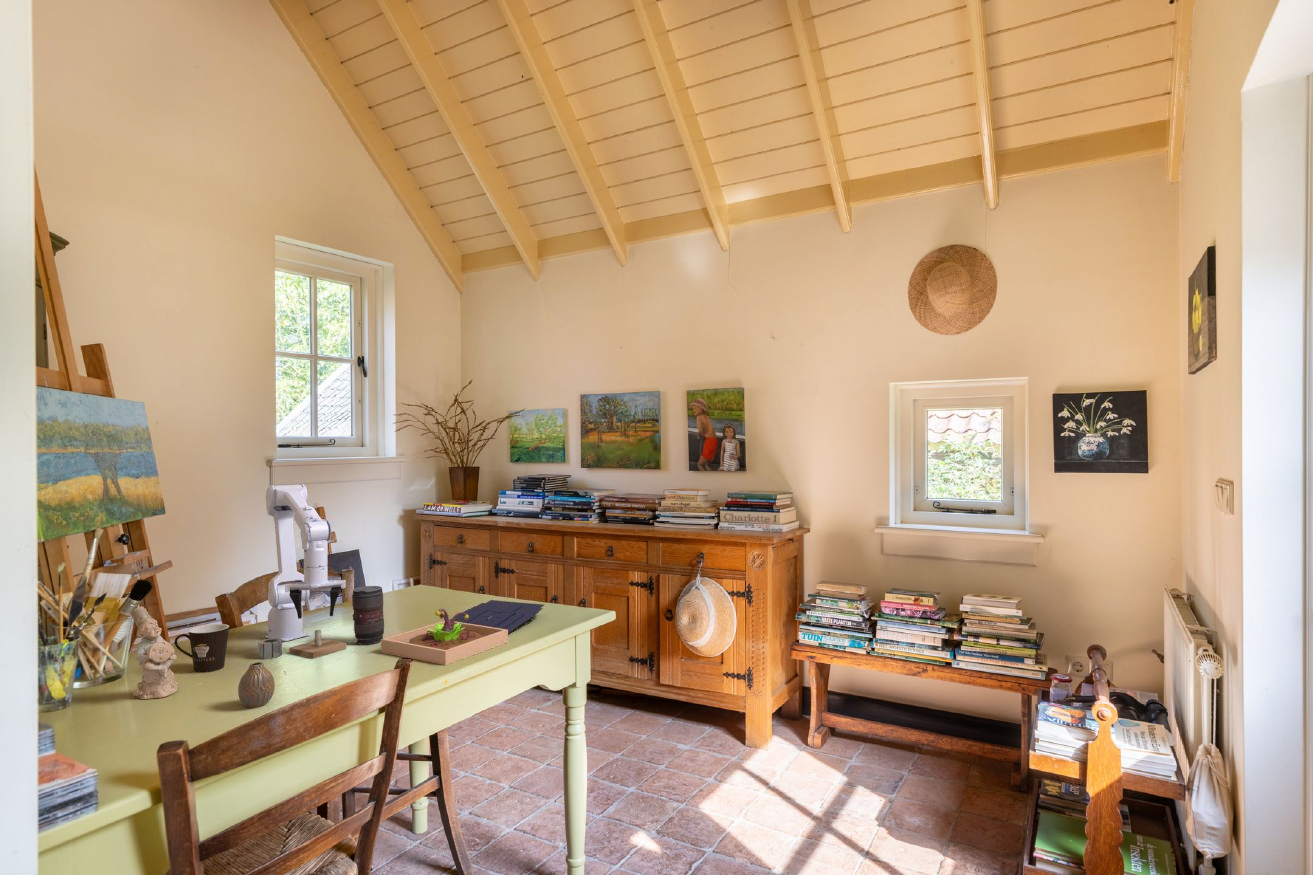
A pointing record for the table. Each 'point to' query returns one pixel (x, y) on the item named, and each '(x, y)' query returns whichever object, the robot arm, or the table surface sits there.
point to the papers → (500, 614)
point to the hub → (270, 648)
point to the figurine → (153, 658)
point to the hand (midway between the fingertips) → (315, 616)
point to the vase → (256, 686)
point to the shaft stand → (317, 647)
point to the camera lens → (368, 614)
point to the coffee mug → (207, 647)
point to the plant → (446, 634)
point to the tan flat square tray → (403, 648)
